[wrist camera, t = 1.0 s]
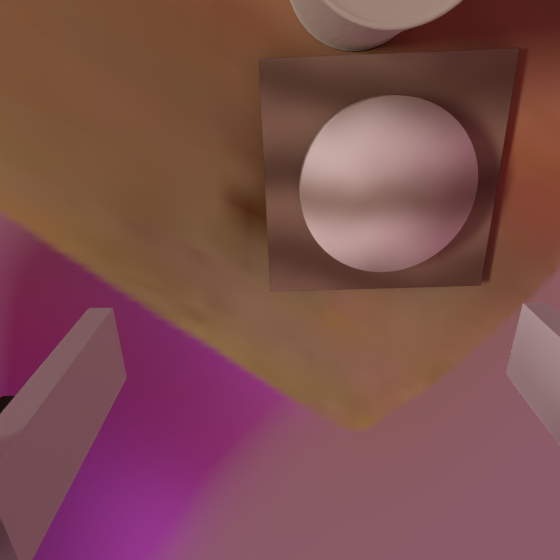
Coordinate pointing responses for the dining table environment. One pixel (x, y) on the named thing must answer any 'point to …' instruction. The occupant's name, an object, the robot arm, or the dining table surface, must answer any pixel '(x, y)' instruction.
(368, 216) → the stand
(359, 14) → the can
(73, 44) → the dining table surface
